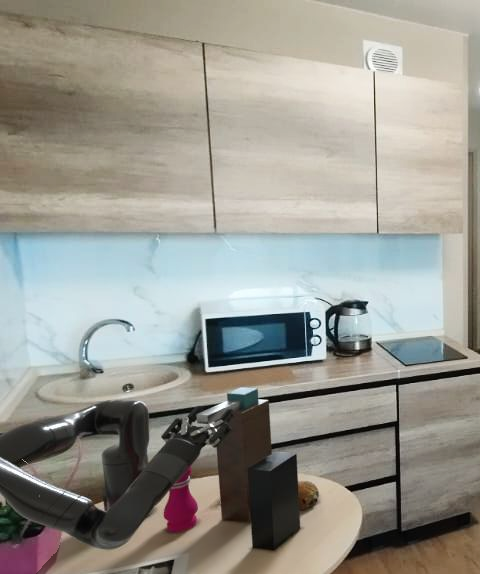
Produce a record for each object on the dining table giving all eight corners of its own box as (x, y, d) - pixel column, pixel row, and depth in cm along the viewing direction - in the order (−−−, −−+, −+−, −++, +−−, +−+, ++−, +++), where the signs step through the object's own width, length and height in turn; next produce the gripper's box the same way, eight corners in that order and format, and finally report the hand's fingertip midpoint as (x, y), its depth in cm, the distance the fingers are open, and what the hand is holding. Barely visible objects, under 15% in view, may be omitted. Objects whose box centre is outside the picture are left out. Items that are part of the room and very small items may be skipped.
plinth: (221, 520, 158) (213, 410, 153) (249, 501, 168) (242, 397, 163) (248, 523, 158) (241, 413, 152) (274, 503, 168) (268, 400, 162)
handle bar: (193, 423, 145) (192, 408, 144) (241, 400, 161) (241, 387, 160) (211, 424, 145) (210, 409, 144) (258, 402, 160) (257, 388, 160)
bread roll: (313, 503, 175) (306, 477, 176) (327, 500, 169) (320, 474, 170) (277, 516, 167) (271, 490, 168) (291, 514, 161) (284, 486, 162)
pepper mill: (180, 535, 151) (174, 464, 148) (157, 531, 152) (151, 460, 149) (205, 520, 158) (200, 452, 155) (184, 516, 159) (178, 449, 156)
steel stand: (252, 548, 147) (247, 468, 144) (279, 526, 157) (275, 451, 153) (274, 550, 147) (269, 471, 143) (300, 528, 157) (296, 453, 153)
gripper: (151, 469, 140) (198, 416, 152) (206, 474, 138) (248, 420, 151) (134, 451, 135) (183, 397, 147) (191, 456, 134) (235, 402, 146)
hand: (216, 409), depth 149 cm, fingers open, 8 cm apart
